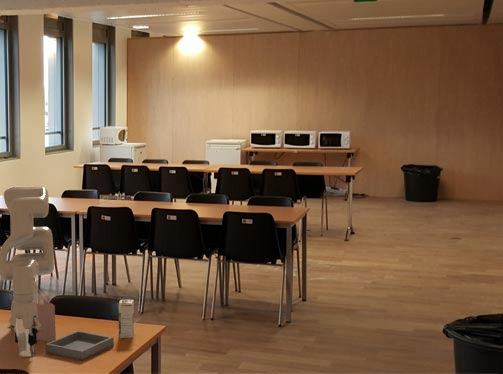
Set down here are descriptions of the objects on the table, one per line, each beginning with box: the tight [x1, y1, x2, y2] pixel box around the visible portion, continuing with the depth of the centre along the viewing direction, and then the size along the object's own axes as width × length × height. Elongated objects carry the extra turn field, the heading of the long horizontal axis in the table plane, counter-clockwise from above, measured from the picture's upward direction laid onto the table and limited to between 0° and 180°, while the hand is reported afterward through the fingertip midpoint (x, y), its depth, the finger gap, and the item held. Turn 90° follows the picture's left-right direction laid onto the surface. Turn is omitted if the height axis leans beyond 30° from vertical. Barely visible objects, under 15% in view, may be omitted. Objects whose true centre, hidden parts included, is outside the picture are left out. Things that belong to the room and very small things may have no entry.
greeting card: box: [36, 298, 57, 342], centre depth 288 cm, size 11×7×15 cm, turn 37°
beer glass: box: [16, 318, 36, 358], centre depth 271 cm, size 7×7×15 cm
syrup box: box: [118, 299, 135, 339], centre depth 292 cm, size 6×6×14 cm
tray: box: [45, 330, 115, 361], centre depth 277 cm, size 18×18×4 cm
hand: (26, 342), depth 271 cm, fingers closed on beer glass, 6 cm apart
